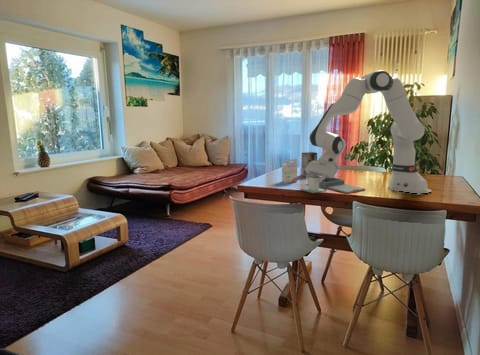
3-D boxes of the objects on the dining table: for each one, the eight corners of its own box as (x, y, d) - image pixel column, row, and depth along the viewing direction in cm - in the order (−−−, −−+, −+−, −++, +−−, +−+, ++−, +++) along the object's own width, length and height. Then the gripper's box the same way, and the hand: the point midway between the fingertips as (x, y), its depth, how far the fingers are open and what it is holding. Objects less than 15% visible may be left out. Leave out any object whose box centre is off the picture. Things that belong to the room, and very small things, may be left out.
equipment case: (365, 190, 191) (365, 184, 191) (346, 193, 183) (347, 187, 183) (325, 181, 217) (325, 175, 216) (307, 183, 209) (308, 178, 208)
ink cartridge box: (293, 180, 219) (293, 158, 217) (297, 182, 215) (297, 159, 212) (281, 181, 216) (281, 158, 214) (285, 183, 212) (285, 159, 209)
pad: (326, 190, 190) (326, 190, 190) (313, 193, 185) (313, 192, 185) (313, 187, 199) (313, 186, 198) (300, 189, 193) (300, 188, 193)
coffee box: (310, 174, 242) (311, 151, 239) (316, 175, 237) (317, 152, 234) (300, 175, 238) (301, 152, 235) (306, 176, 232) (307, 153, 229)
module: (318, 189, 191) (319, 175, 189) (313, 190, 189) (314, 176, 187) (313, 188, 195) (313, 174, 193) (308, 189, 193) (308, 175, 191)
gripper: (310, 156, 201) (297, 174, 198) (337, 160, 184) (323, 179, 180) (316, 163, 204) (303, 180, 201) (342, 167, 187) (328, 187, 184)
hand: (313, 180), depth 190 cm, fingers open, 8 cm apart
